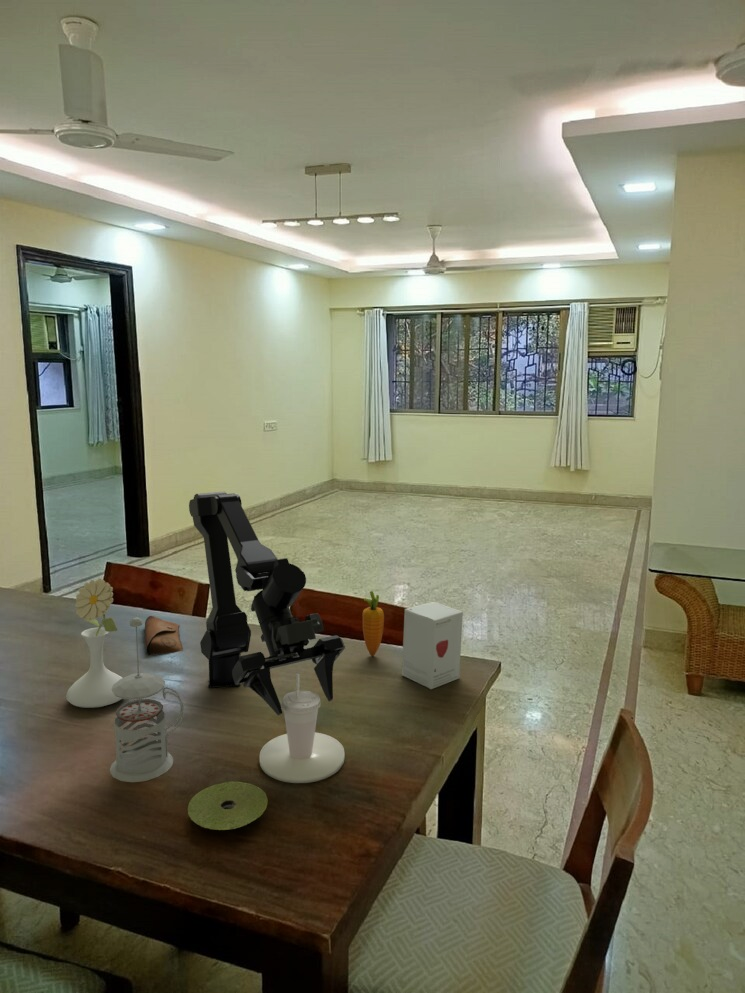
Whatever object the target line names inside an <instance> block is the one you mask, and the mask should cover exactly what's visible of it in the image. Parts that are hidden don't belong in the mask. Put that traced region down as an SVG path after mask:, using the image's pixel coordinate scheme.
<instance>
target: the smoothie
mask: <svg viewBox="0 0 745 993" xmlns="http://www.w3.org/2000/svg"><path fill="white" fill-rule="evenodd" d="M300 673H301V672H296V673H295V676H296V677H295V678H296V680H295V682H296V685H295V687H296V690H294V691H290V692H287V693H286V694H284V695H283V696H282V698H281V703H280V705H281V709H282V710H283V716H284V721H285V729H286V734H287V738H288V745H289V753H290V756H291V757H292V758H294V759H306V758H308V757H310V756H311V755H312V750H313V743H314V735H315V732H316V726H317V721H318V720H317V719H318V713H319V709H320V708H321V705H322V703H321V697H320V695H319V694H318V693H316V692H315V691H310V690H300V688H301V687H300V685H301V683H300V682H301V681H300V678H301V674H300Z"/></svg>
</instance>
